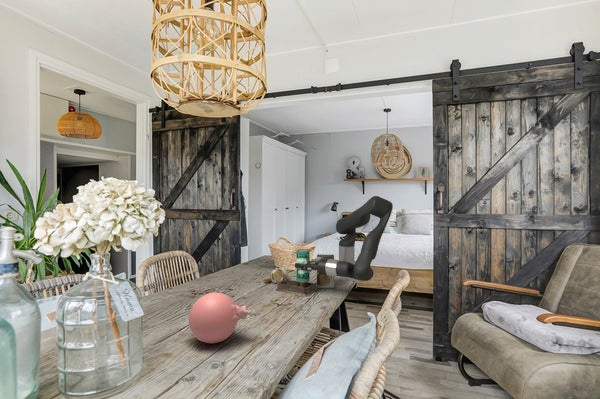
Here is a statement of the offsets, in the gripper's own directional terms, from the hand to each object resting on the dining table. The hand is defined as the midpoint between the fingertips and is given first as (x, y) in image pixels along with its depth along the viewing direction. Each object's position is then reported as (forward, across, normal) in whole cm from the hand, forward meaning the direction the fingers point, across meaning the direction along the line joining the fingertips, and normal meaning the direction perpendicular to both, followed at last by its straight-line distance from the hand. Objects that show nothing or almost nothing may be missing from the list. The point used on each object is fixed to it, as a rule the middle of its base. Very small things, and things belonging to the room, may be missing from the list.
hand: (298, 264), depth 161 cm
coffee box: (-8, -14, +14) cm, 21 cm away
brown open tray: (+2, 0, +13) cm, 13 cm away
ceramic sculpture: (+18, -8, +13) cm, 24 cm away
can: (-2, 0, +8) cm, 9 cm away
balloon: (-6, +61, +14) cm, 63 cm away
